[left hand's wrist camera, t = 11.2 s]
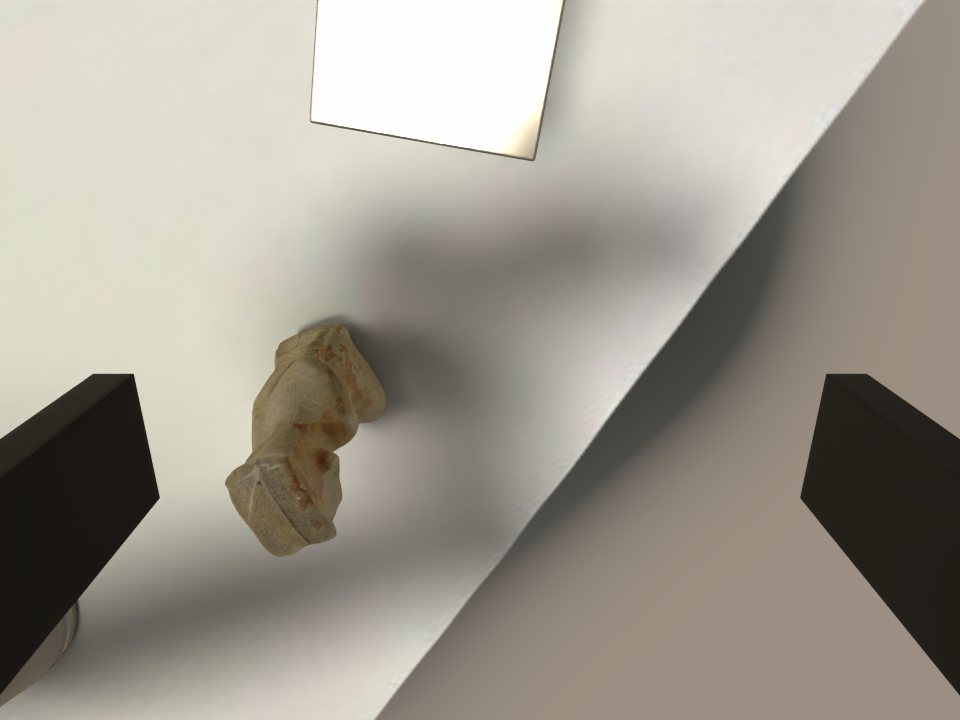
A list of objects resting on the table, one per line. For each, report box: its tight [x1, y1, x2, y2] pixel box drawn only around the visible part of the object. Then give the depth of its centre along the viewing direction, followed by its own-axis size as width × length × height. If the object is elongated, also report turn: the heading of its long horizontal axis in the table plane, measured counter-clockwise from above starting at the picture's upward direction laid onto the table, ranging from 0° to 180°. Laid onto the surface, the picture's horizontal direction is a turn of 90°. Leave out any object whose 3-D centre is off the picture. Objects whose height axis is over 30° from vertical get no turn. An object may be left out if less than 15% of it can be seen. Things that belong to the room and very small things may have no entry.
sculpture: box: [225, 324, 386, 557], centre depth 35 cm, size 6×7×15 cm
